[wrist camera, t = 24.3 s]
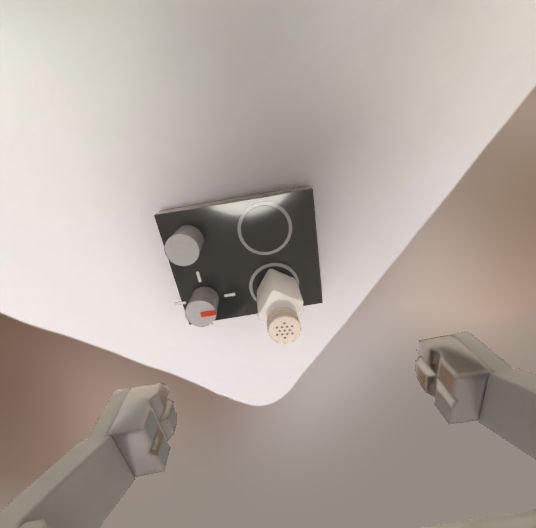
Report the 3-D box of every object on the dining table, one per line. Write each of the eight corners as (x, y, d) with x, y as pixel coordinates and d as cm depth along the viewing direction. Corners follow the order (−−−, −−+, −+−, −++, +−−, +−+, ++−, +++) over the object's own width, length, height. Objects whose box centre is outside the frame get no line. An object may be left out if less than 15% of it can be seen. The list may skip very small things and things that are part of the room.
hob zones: (197, 320, 37) (192, 336, 34) (165, 217, 31) (156, 225, 28) (301, 303, 37) (306, 318, 33) (288, 197, 31) (293, 203, 28)
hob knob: (194, 312, 36) (188, 330, 33) (187, 288, 35) (180, 304, 31) (221, 308, 36) (219, 325, 33) (216, 284, 35) (212, 299, 31)
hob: (187, 317, 39) (183, 329, 37) (153, 211, 33) (145, 216, 31) (318, 295, 39) (323, 305, 37) (308, 185, 33) (313, 188, 31)
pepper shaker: (254, 291, 35) (256, 339, 27) (268, 265, 34) (275, 306, 25) (282, 302, 36) (292, 352, 28) (297, 277, 35) (313, 321, 26)
